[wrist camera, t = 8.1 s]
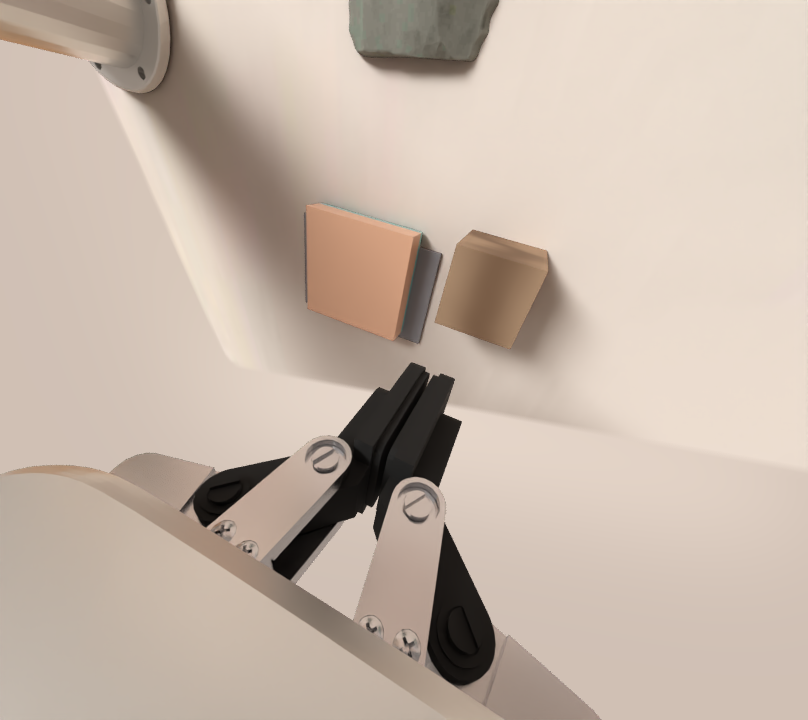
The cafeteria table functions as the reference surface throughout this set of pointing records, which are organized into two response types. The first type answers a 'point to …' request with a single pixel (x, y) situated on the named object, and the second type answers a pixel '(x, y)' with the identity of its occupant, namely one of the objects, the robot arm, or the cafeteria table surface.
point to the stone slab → (420, 28)
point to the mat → (419, 290)
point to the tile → (360, 268)
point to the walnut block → (491, 287)
